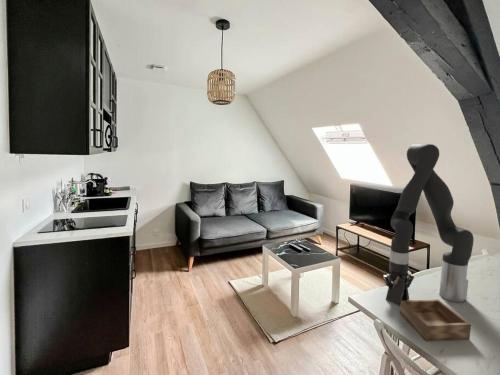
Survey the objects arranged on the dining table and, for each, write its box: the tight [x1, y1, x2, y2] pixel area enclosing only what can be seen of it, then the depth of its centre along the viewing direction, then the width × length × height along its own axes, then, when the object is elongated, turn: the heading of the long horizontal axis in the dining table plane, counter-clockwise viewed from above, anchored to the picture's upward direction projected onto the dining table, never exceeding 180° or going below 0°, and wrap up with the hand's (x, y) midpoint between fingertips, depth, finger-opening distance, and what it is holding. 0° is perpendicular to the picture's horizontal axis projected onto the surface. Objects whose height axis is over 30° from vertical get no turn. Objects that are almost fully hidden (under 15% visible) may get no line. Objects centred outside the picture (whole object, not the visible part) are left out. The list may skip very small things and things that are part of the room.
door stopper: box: [385, 276, 410, 306], centre depth 121 cm, size 9×6×12 cm, turn 124°
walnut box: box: [399, 298, 472, 342], centre depth 103 cm, size 16×16×6 cm
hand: (397, 295), depth 122 cm, fingers closed on door stopper, 3 cm apart
